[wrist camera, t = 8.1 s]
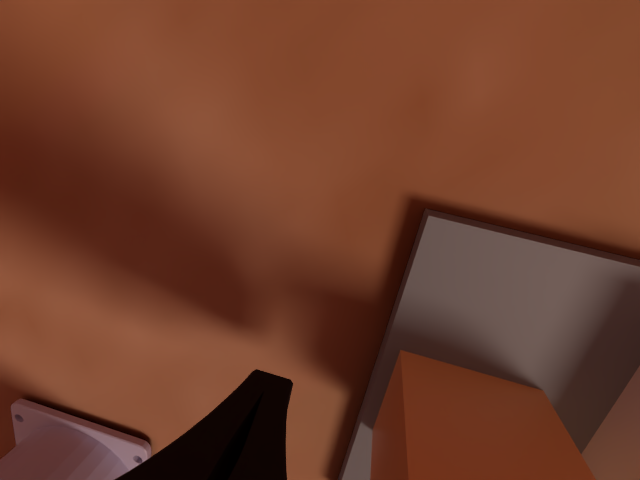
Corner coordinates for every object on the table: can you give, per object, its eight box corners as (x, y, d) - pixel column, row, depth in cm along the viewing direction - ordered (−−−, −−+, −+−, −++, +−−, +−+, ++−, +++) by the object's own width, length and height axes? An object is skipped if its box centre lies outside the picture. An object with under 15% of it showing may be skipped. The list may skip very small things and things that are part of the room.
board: (574, 564, 15) (630, 696, 12) (336, 485, 16) (322, 583, 13) (782, 294, 10) (985, 380, 7) (425, 208, 12) (442, 244, 8)
